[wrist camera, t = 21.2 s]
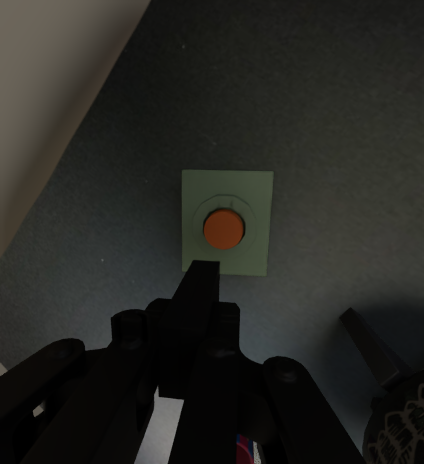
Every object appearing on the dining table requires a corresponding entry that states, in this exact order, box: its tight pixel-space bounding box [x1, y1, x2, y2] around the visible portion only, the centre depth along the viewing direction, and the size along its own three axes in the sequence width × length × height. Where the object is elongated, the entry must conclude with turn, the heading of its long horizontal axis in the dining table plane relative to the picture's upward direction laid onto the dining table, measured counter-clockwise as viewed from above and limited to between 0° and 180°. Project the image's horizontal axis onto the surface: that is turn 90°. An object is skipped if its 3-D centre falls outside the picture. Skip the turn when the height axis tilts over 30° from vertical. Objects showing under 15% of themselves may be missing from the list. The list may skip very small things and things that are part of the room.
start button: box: [204, 209, 243, 250], centre depth 29 cm, size 4×4×2 cm
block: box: [182, 169, 274, 277], centre depth 31 cm, size 12×10×4 cm
